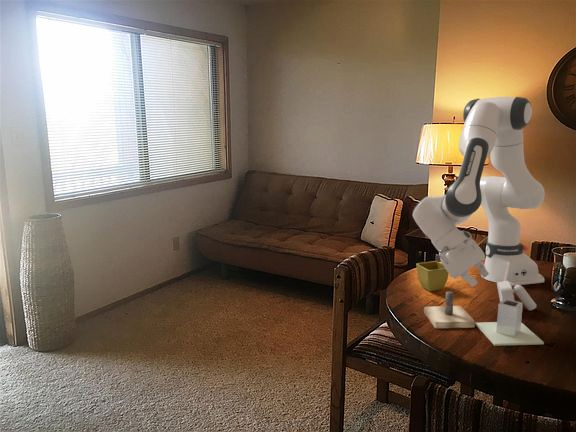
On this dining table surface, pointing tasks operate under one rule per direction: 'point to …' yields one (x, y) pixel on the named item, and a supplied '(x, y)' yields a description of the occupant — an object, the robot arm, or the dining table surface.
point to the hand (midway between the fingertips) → (481, 280)
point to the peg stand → (449, 315)
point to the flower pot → (432, 275)
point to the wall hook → (507, 293)
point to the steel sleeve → (509, 317)
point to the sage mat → (499, 339)
